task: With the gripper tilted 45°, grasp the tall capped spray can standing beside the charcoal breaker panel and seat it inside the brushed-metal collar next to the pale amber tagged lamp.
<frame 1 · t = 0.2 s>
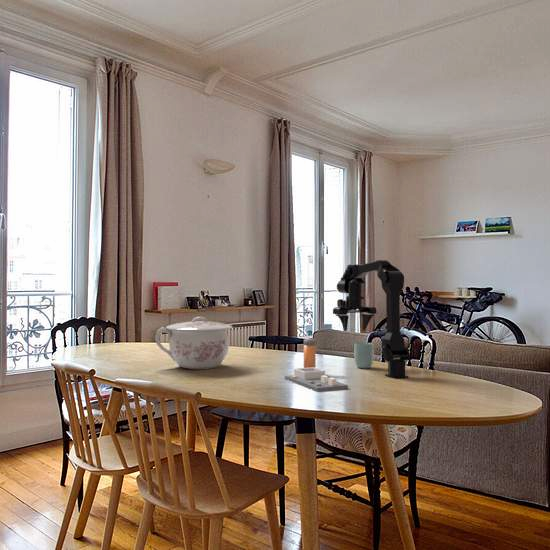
hand: (354, 331, 236), 15 cm above the table, tool pointing down, fingers open, 9 cm apart
capped spray can: (309, 373, 216), on the table
cup: (363, 368, 230), on the table
breaker panel: (315, 383, 196), on the table
chamber pot: (198, 367, 230), on the table
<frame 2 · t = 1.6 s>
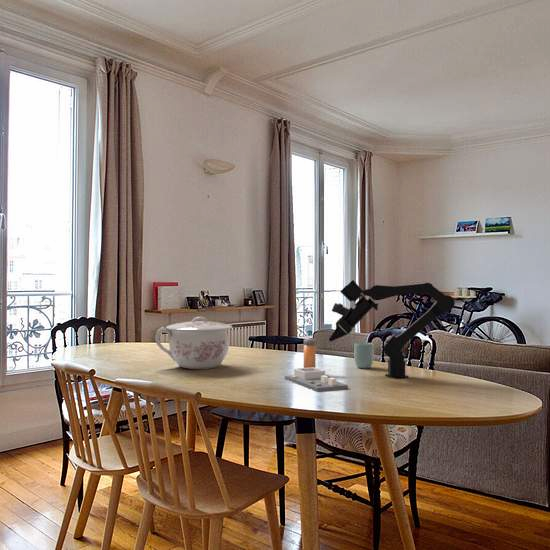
hand: (330, 339, 215), 13 cm above the table, tool tilted 45°, fingers open, 9 cm apart
nothing on the table moved.
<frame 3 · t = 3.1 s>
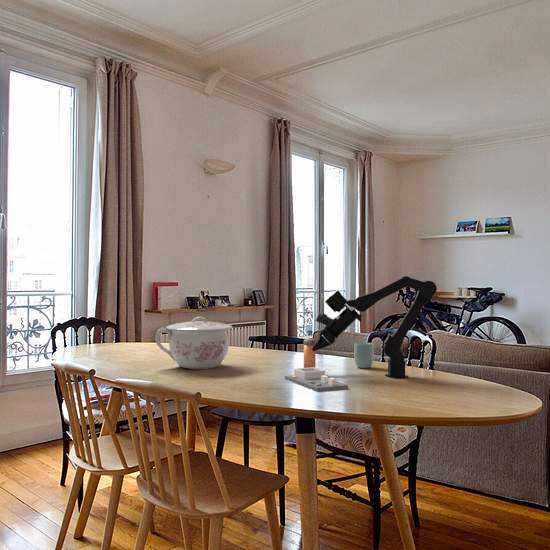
hand: (314, 348, 216), 10 cm above the table, tool tilted 45°, fingers open, 9 cm apart
nothing on the table moved.
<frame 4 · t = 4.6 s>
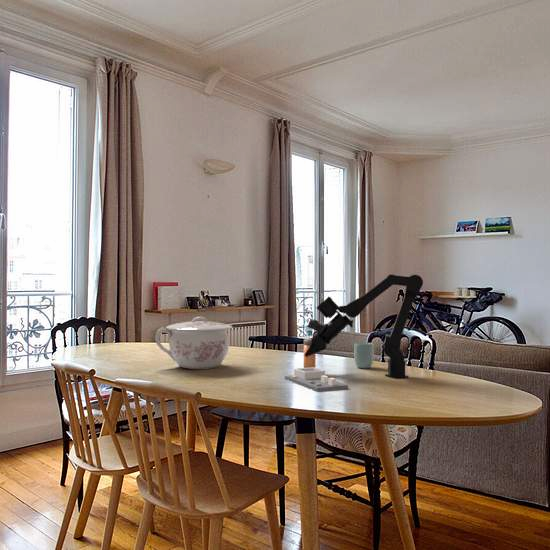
hand: (306, 354, 216), 7 cm above the table, tool tilted 45°, fingers closed on capped spray can, 5 cm apart
capped spray can: (309, 373, 216), on the table, touching gripper
everything else where it was.
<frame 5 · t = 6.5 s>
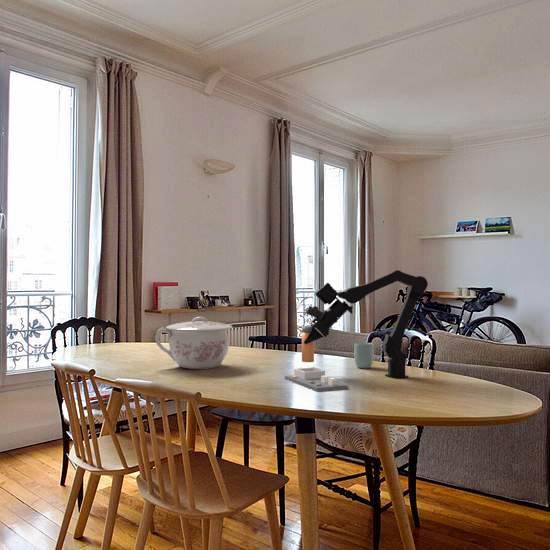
hand: (304, 342, 211), 13 cm above the table, tool tilted 45°, fingers closed on capped spray can, 5 cm apart
capped spray can: (307, 361, 211), point 5 cm above the table, touching gripper
everything else where it was.
when the fingers open (9 cm above the table, at t = 8.3 s): capped spray can stays where it is, resting on breaker panel.
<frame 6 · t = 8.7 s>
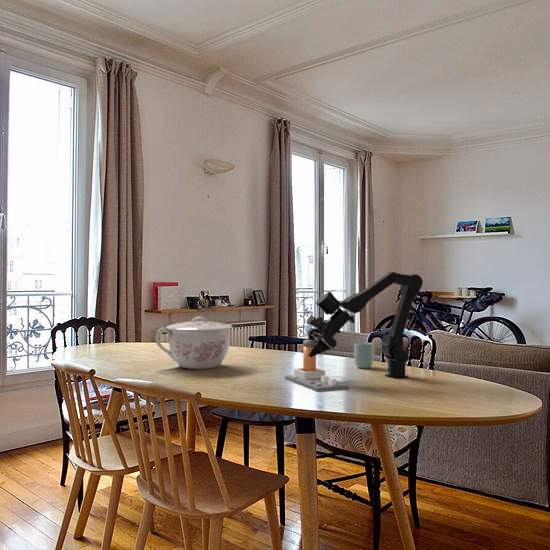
hand: (305, 354, 202), 9 cm above the table, tool tilted 45°, fingers open, 9 cm apart
capped spray can: (309, 376, 202), point 1 cm above the table, touching breaker panel
everything else where it was.
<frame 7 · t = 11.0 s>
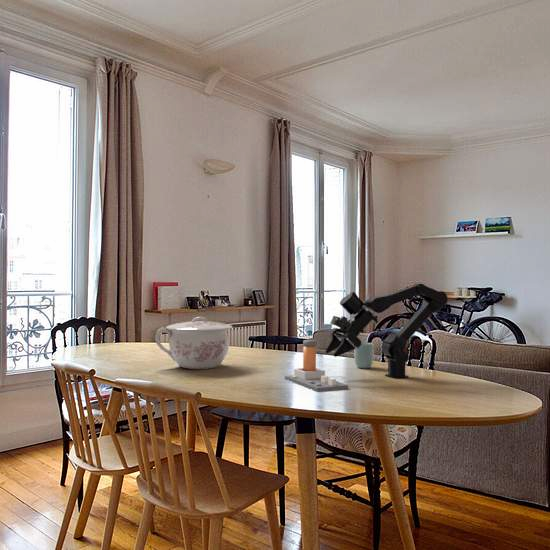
hand: (330, 354, 204), 9 cm above the table, tool tilted 45°, fingers open, 9 cm apart
nothing on the table moved.
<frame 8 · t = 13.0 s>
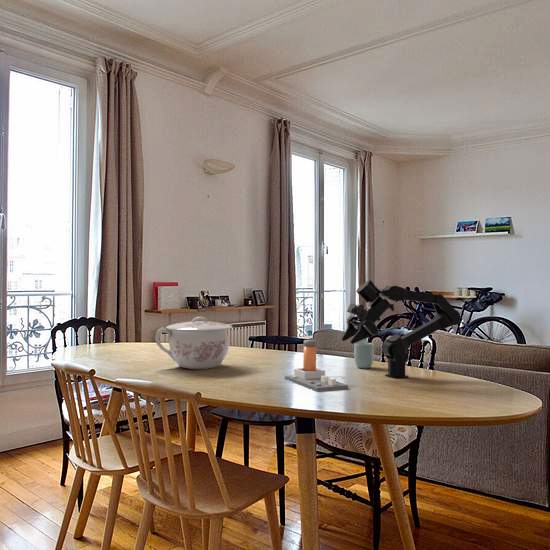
hand: (346, 341, 206), 14 cm above the table, tool tilted 45°, fingers open, 9 cm apart
nothing on the table moved.
at the end: capped spray can 0.0 cm from the target spot on the breaker panel, point 1.2 cm above the breaker panel's base; capped spray can tilted 1°; the gripper is holding nothing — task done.
